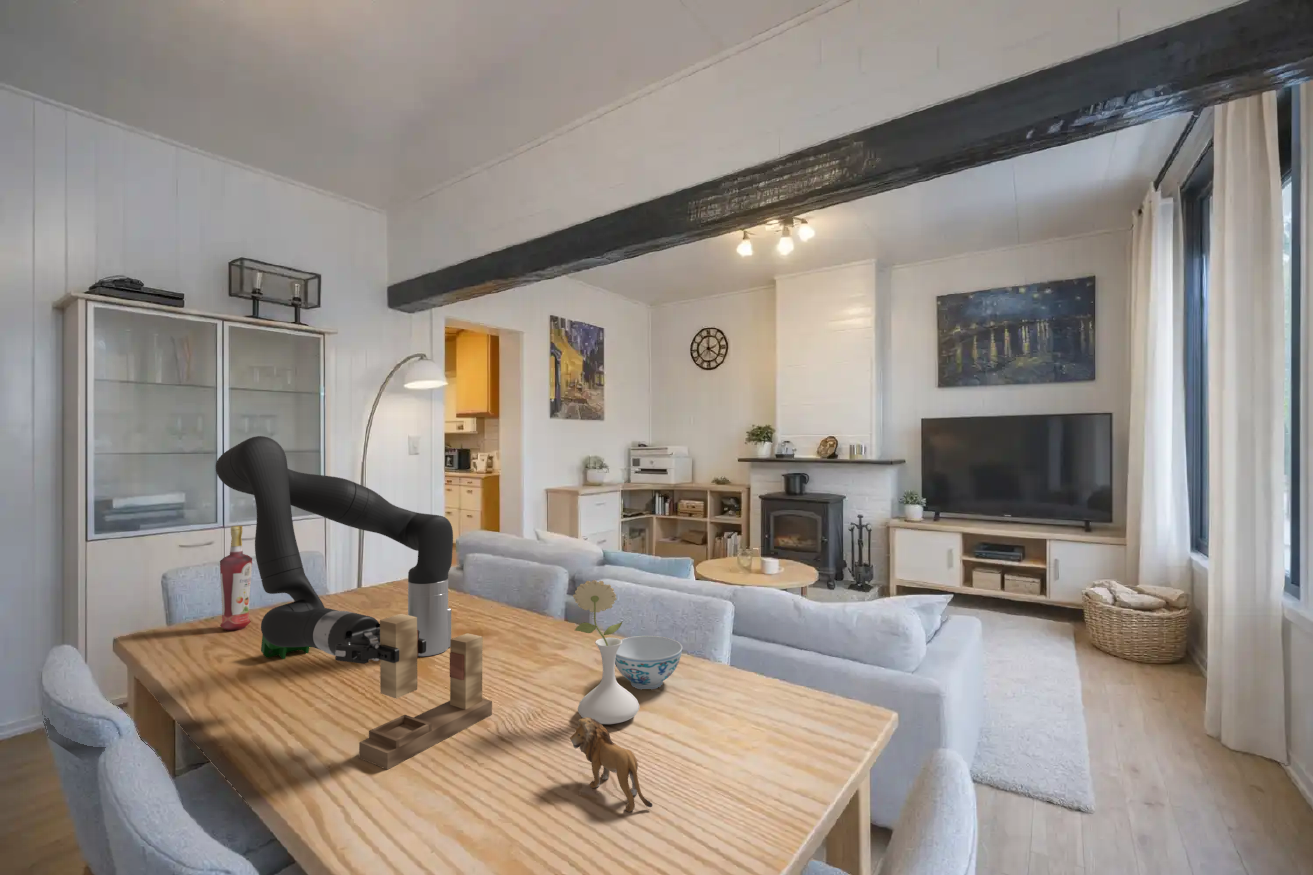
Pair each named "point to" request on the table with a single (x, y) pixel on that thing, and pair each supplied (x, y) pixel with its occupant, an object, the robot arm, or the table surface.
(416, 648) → the tall wooden pillar
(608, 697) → the flower in vase
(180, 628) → the table surface
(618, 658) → the chinaware
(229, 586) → the liquor
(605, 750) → the lion figurine
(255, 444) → the robot arm
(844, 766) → the table surface
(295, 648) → the clamp
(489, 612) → the table surface
